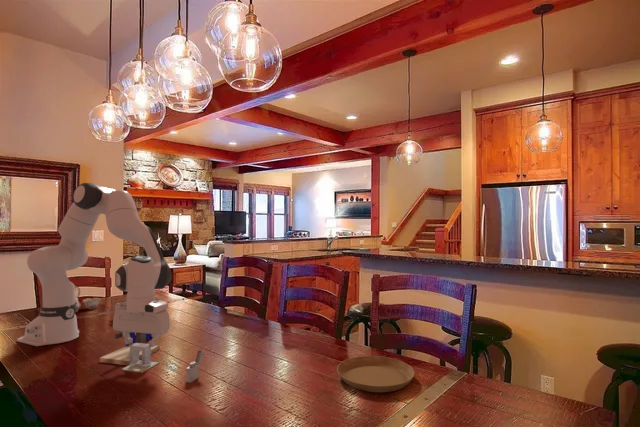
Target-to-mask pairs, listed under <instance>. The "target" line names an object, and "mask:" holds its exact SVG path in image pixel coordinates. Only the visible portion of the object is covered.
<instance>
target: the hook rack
mask: <svg viewBox="0 0 640 427" xmlns="http://www.w3.org/2000/svg"><path fill="white" fill-rule="evenodd" d="M131 333H133V332H130V333H129V334H131ZM135 335H136V343H144V344H147V343H146V342H147V341H146V333H137V332H135ZM113 337H114V339H115V340H118V339H121V338H124V336H123V334H122V331H120V332H119V333H116V334H114V336H113ZM132 344H135V343H132ZM132 344H130V345H132ZM130 345H128V346H126V345H125V346H123V347H122V348H119V349H116V350H114V351H112V352H110V353H107V354H105V355H103V356H101V357H99V363H107V364H114V365H122V366H129V365H130ZM160 349H161V347H160V345H157V344H156V346H154V347H151V355H152V354H154V353H155V352H158V351H160ZM139 360H142V350H139Z"/></svg>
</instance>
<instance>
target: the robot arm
mask: <svg viewBox="0 0 640 427" xmlns="http://www.w3.org/2000/svg"><path fill="white" fill-rule="evenodd" d="M72 195H73V196H72V201H73V202H72V203H71V205H70V207H69V208H68V210H67V212H66V214H65V215H64V217H63V219H62V220H61V222H60V225H59V226H58V228H57V230H58V234H59V235H60V236H61V238H60V242H59V244H58V245H53V246H43V247H40V248H38V249H35V250H32V251H31V252H30V253H29V255H28V256H27V260H26V264H27V268H28V269H29V270H30V271H31V272H32V273H34V274H35V276H37V278H38V281H39V282H40V285H41V291H42V292H41V293H42V305H41V307H38V308H37V311H38V312H39V313H38V316H36V317H35V318H34V319H33V320H32V321H30V322H29V323H28V324H27V325H26V326H25V329H24V335H22V336H20V337H19V338H17V340H16V341H17V342H19V343H22V344H26V345H30V346H34V347H39V346H40V347H41V346H46V345H55V344H62V343H65V342H70V341H73V340H75V339H77V338H79V336H80V335H79V334H80V330H79V328H78V320H77V315H76V313H77V312H76V303H75V295H76V290H75V286H76V285H75V284H74V283H73V282H72V281H70V280H69V278H68V275H67V271H72V270H76V269H78V268H81V267H82V266H85V264H86V263H87V261H88V259H89V254H88V253H89V252H88V251H87V249H86V246H87V241H88V239H89V236H90V235H91V232H92V231H93V229H94V227H95V225H96V222H97V221H98V220H99V216H100V215H105V220H106V225H107V228H108V231H109V232H110V233H111V235H113V236H114V237H116V238H119V239H121V240H124V241H129V242H132V243H135V244H138V245H139V246H141V247H143V249H144V250H145V253H146V255H135V256H131V257H130V258H129V259H128V262H127V263H125V264H124V265H121V266H120V267H118V269H116V271H115V274H114V276H115V277H114V278H115V279H114V282H115V287H116V288H117V289H119V291H122V292H127V293H126V302H127V303H124V302H118V303H119V304H117V303H116V304H117V305H116V304H115V305H116V307H115V306H114V314H113V321H112V328H113V331H119V332H122V334H123V339H124V343H125V345H126V344H132V342H133V341H132V340H133V338H131V337H130V335H129V333H130V332H135V333H136V332H137V333H147V334H152V337H153V338H152V339H150V340H148V344H149V347H154V346H156V345H157V340H158V338H159V337H160V336H161V335H165V334H166V333H168V332H169V331H170V326H171V325H170V314H169V312H168V308H169V304H168V302H166V301H164V300H162V299H160V298H158V297H156V292H155V290H163V289H165V288H166V287H167V286H168V285H169V283H170V282H171V280H172V271H171V268H170V266H169V263H167V261H166V259H165V258H164V255H163V253H162V250H161V248H160V246H159V244H158V242H157V239H156V236H155V234H154V233H153V230H152V229H151V227H149V226H147V225H146V224H145V223H144V222H143V221H142V220H141V218H140V217H139V213H138V209H137V206H136V203H135V201H134V199H133V196H132V194H131V193H130V192H129V191H127V190H124V189H114V188H112V187H108V186H103V185H99V184H95V183H93V182H83V183H79V185H78V186H76V188H75V189H74V191H73V194H72ZM118 305H119V306H118Z"/></svg>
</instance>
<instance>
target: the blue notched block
mask: <svg viewBox="0 0 640 427" xmlns="http://www.w3.org/2000/svg"><path fill="white" fill-rule="evenodd" d="M129 335H130V337H131V338H133V340H132V341H133V342H132V343H136V332H133V333H131V334H129ZM152 338H153V337H152V334H147V333H146V342H149V341H151V340H152ZM128 345H130V344H125V346H128Z"/></svg>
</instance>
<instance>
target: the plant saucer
mask: <svg viewBox="0 0 640 427" xmlns="http://www.w3.org/2000/svg"><path fill="white" fill-rule="evenodd" d="M336 371H337V374H338V376H339V377H340V379H341V380H342V381H343V382H344V383H345V384H347V385H348V386H350V387H351V388H354V389H355V390H359V391H363V392H368V393H390V392H394V391H395V392H396V391H398V390H400V389H403V388H404V387H406V386H407V385H408V384H410V383H411V381H412V380H413V378H414V376H415V371H414V369H413V367H412V366H411V365H409V364H408V363H406V362H404V361H401V360H399V359H396V358H391V357H386V356H378V355H362V356H355V357H351V358H347V359H344V360H343V361H341V362H340V363H338V365H337V367H336Z"/></svg>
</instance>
